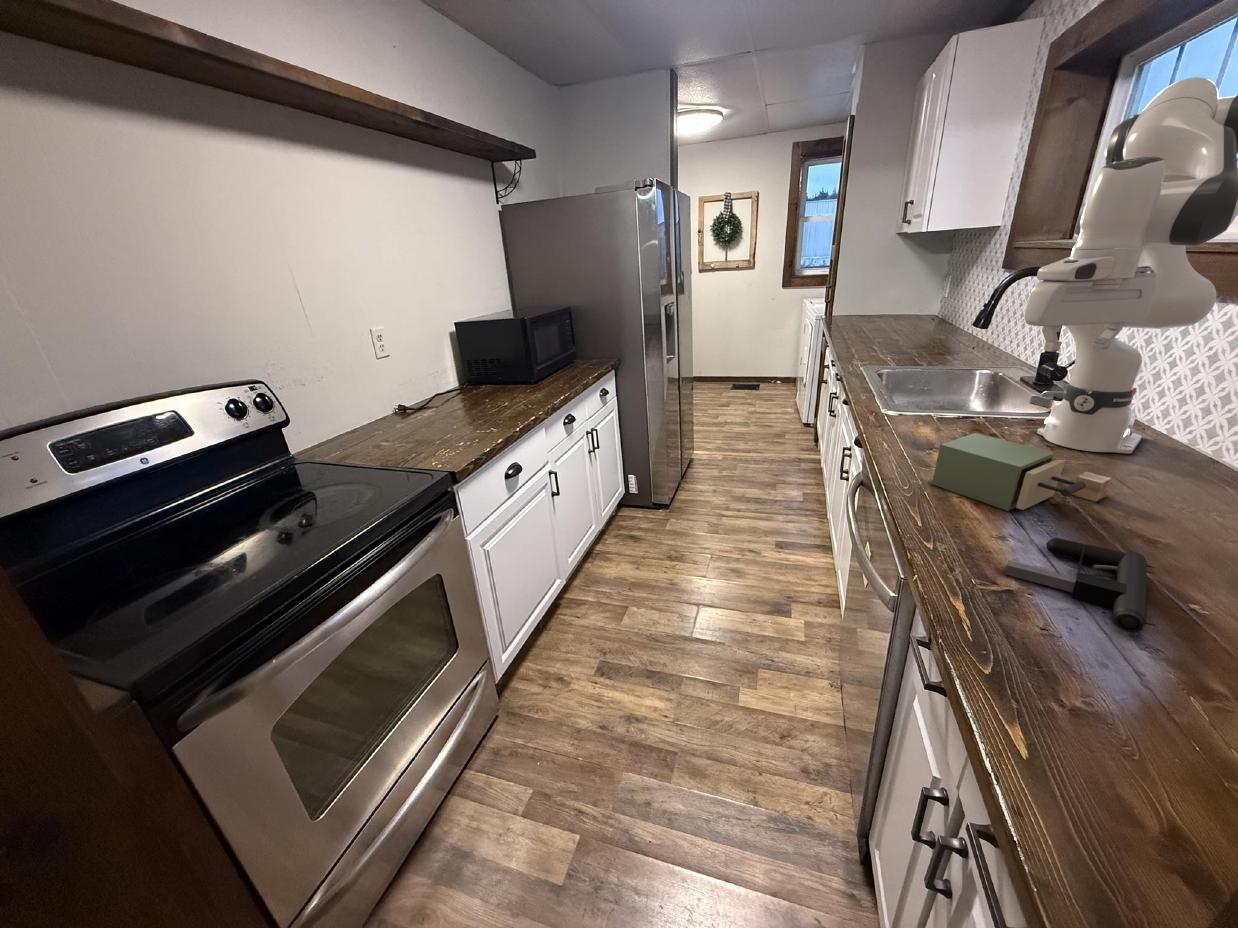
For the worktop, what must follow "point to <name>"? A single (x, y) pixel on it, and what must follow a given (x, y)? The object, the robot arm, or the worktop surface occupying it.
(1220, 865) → the worktop surface
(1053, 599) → the worktop surface
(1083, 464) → the worktop surface
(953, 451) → the cabinet
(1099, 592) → the door handle
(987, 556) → the worktop surface
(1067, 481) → the drawer
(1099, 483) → the block
